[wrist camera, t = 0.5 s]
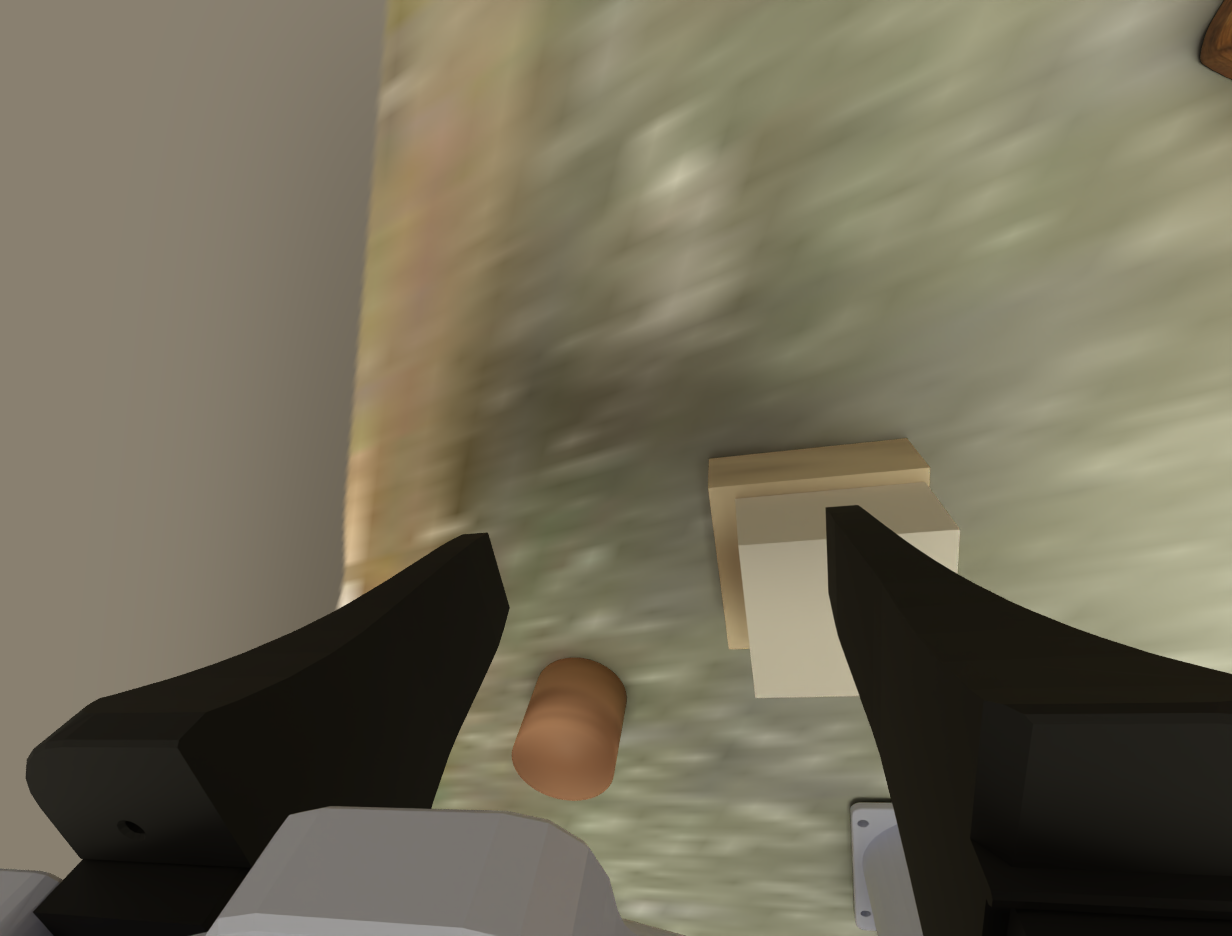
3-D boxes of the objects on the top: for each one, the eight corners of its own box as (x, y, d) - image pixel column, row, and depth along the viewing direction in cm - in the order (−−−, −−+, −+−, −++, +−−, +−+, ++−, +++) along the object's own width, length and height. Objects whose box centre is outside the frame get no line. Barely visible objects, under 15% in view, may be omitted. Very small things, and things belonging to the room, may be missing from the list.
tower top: (920, 630, 21) (950, 694, 19) (750, 637, 23) (755, 697, 20) (925, 481, 19) (960, 529, 16) (734, 498, 20) (738, 545, 18)
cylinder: (634, 726, 29) (622, 801, 25) (548, 727, 30) (525, 799, 26) (617, 655, 27) (603, 724, 24) (527, 658, 28) (500, 726, 25)
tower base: (901, 592, 24) (924, 642, 21) (727, 601, 26) (729, 649, 23) (903, 433, 21) (930, 467, 19) (708, 453, 23) (708, 488, 20)
